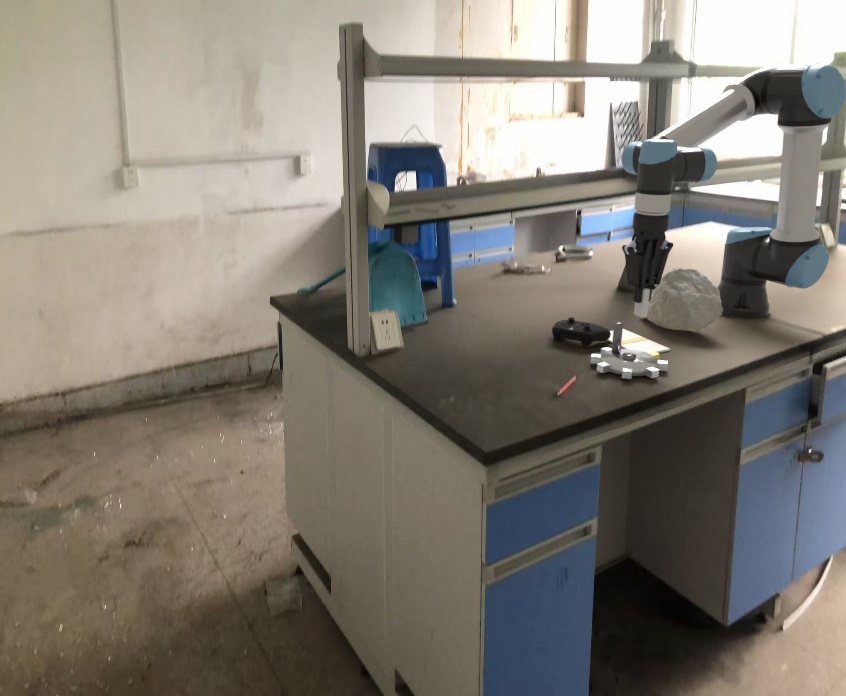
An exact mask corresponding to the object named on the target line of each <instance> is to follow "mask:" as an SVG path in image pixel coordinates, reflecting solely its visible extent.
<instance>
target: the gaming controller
mask: <svg viewBox="0 0 846 696" xmlns="http://www.w3.org/2000/svg"><path fill="white" fill-rule="evenodd" d="M610 331H611V330H610V329H608V328H607V327H606V326H602V325H599V324H595V323H591V322H584V321H581V320H575V318H574V317H568V318H567V319H562V320H558V321H556V322H555V323H554V325H553V326H552V329H551V332H552V336H553V338H552V339H553V341H554V342H560V341H561V340H562V339H565V340H571V341H577V342H581V346H582V347H589V346H591V345H592V344H593V343H594V342H605V341H606V340H608V339H609V338H610V336H611V333H610ZM606 342H607V341H606Z"/></svg>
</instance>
